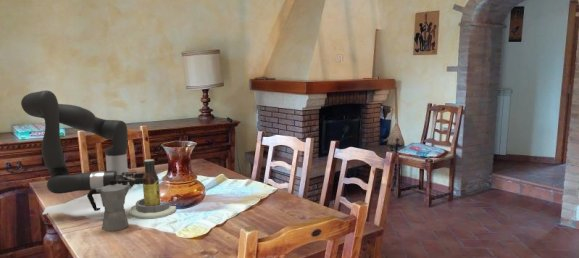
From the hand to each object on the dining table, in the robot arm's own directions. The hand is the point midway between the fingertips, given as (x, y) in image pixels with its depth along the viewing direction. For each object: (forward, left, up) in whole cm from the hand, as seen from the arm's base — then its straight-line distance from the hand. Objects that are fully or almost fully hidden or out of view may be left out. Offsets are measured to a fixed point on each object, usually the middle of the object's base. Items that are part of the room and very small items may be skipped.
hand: (146, 178), depth 184 cm
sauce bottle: (-1, +2, -13) cm, 13 cm away
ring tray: (-1, +2, -14) cm, 14 cm away
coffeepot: (+19, 0, -14) cm, 24 cm away
